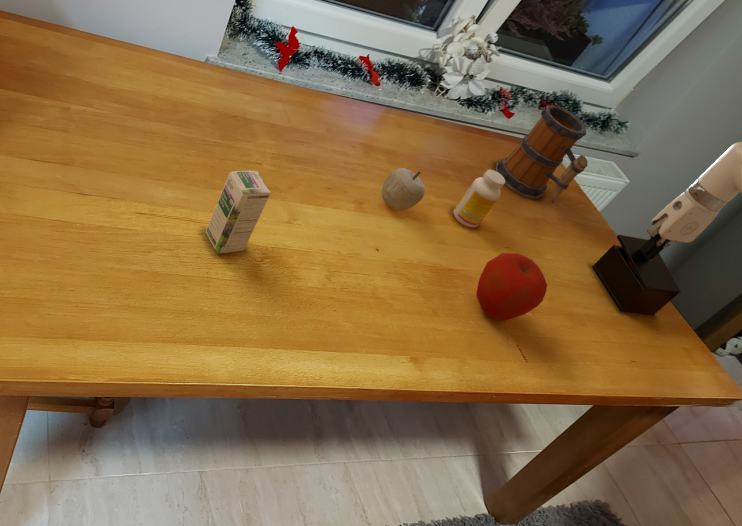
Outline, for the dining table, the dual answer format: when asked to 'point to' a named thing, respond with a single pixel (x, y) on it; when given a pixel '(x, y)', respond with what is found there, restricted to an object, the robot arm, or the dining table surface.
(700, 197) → the robot arm
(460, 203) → the supplement bottle
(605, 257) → the black flip-top box
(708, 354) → the dining table surface
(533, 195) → the mug
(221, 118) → the dining table surface
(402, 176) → the decorative object
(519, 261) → the apple
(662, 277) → the lid
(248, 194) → the syrup box
